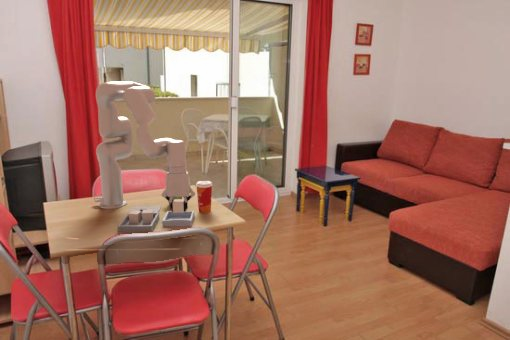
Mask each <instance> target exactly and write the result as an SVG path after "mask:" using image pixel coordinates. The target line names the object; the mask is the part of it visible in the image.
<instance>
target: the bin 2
mask: <svg viewBox="0 0 510 340" xmlns="http://www.w3.org/2000/svg"><path fill="white" fill-rule="evenodd" d="M194 218H195V210H186V212H184V213H173V212H172V210H167V211H166V213H165V214H164V217H163V218H162V222H161V223H162V227H192V225H193V223H194Z"/></svg>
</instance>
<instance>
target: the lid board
mask: <svg viewBox="0 0 510 340" xmlns="http://www.w3.org/2000/svg"><path fill="white" fill-rule="evenodd" d="M161 208H162V206H161V205H159V206H158V205H157V206H156V205H155V206H152V205H151V206H147V205H146V206H145V205H144V206H140V205H139V206H138V205H137V206H135V205H134V206H131V208H130V209H129V210H128V212H127V213H126V214H125V215H124V217H125V216H126V215H127V214H128V213H130V212H131V211H141V213H142V211H143V210H148V209H154V213H160V212H159V211H160V209H161Z"/></svg>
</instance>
